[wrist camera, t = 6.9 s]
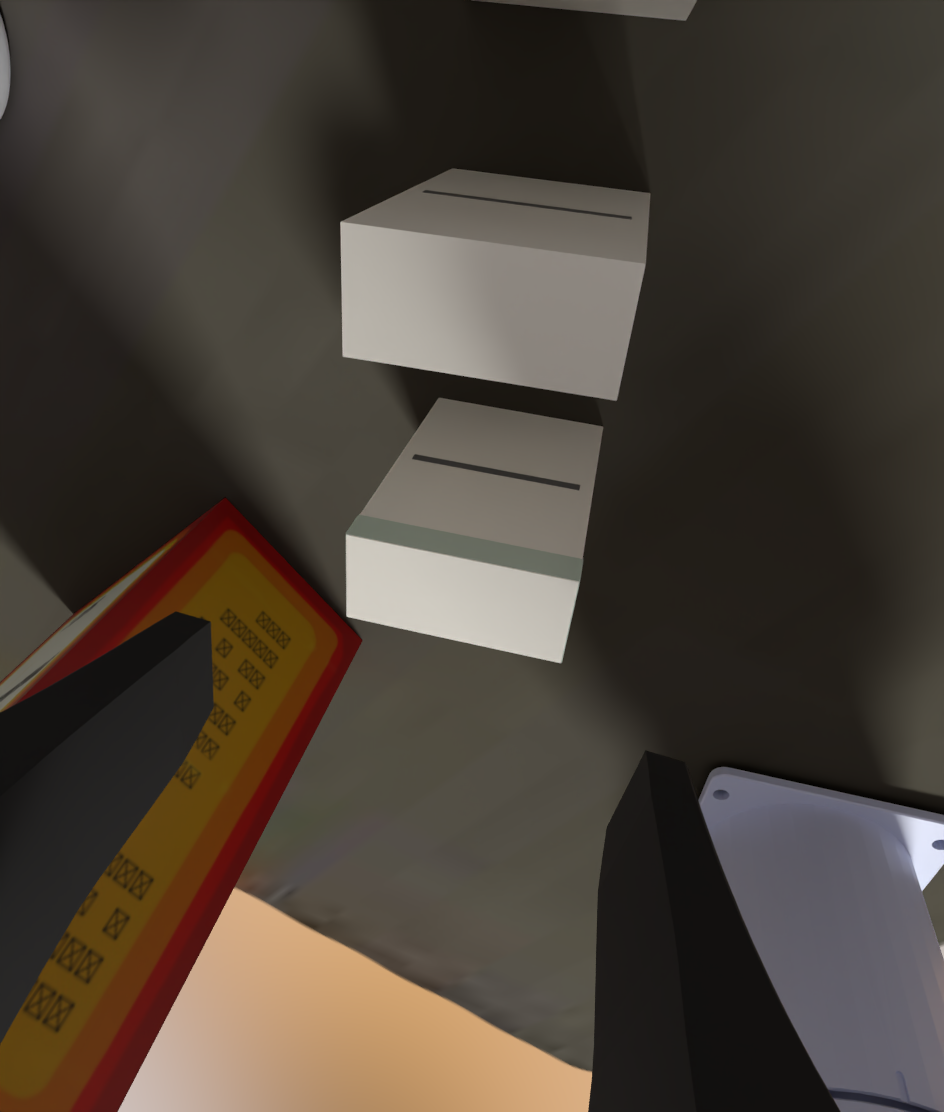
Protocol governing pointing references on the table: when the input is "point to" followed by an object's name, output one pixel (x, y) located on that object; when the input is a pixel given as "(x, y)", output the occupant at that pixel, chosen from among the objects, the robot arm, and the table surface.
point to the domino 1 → (616, 6)
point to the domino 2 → (497, 280)
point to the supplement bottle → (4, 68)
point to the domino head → (478, 530)
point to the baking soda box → (173, 803)
